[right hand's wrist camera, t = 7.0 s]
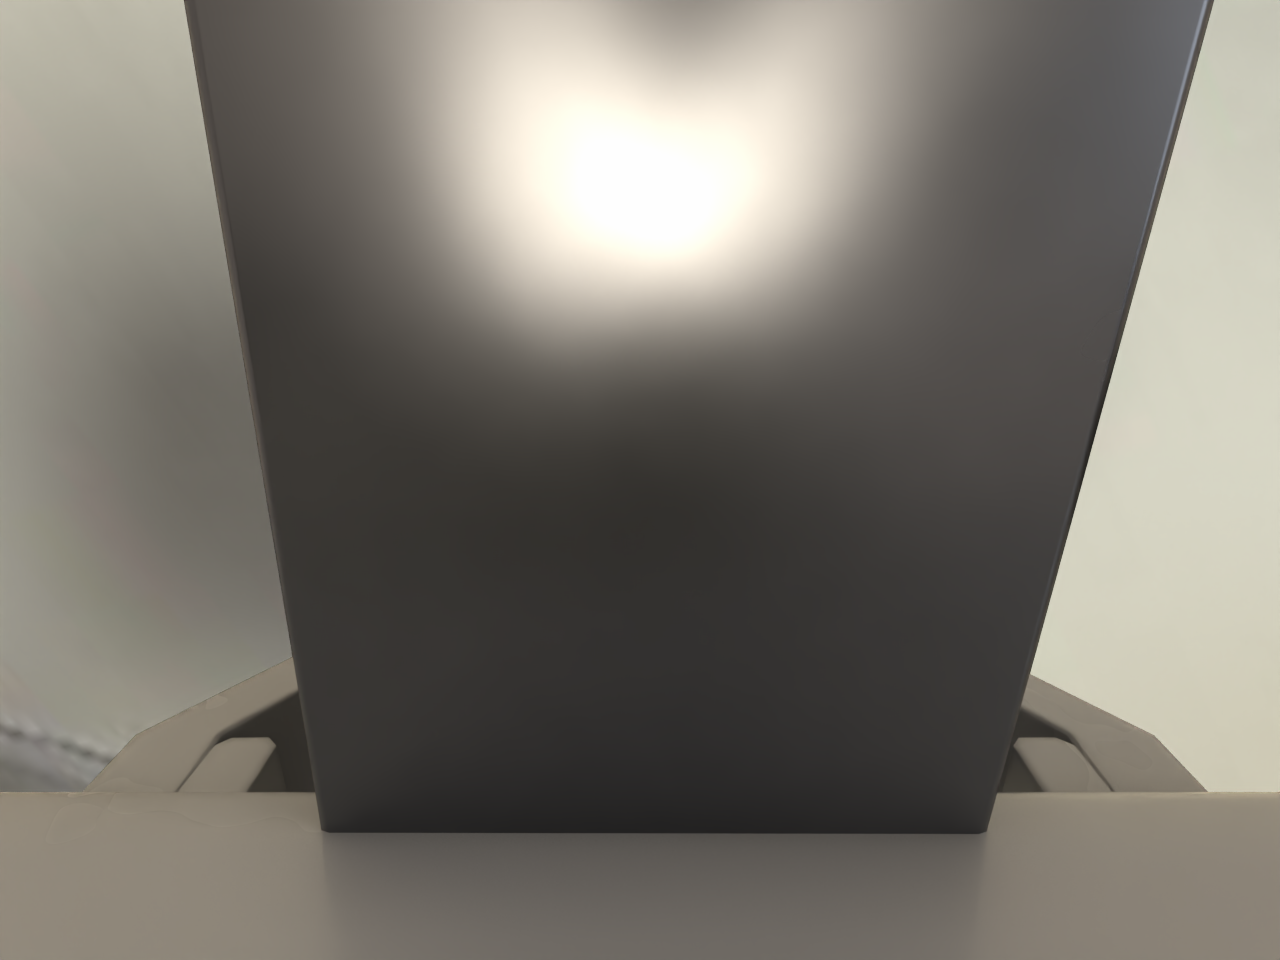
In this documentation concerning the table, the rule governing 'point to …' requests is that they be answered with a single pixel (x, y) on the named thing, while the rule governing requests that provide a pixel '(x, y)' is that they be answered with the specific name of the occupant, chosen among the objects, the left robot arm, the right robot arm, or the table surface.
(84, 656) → the table surface
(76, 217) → the table surface
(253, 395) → the bar
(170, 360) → the table surface
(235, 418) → the table surface
